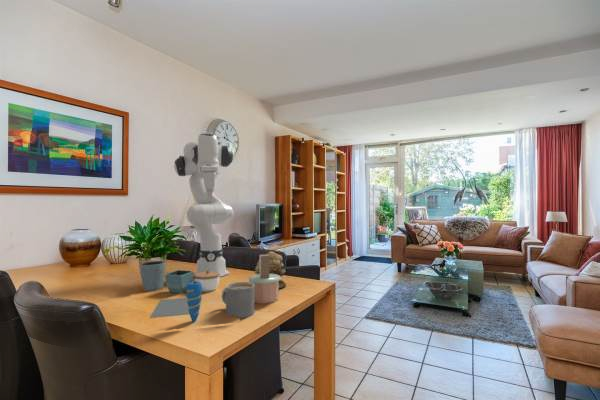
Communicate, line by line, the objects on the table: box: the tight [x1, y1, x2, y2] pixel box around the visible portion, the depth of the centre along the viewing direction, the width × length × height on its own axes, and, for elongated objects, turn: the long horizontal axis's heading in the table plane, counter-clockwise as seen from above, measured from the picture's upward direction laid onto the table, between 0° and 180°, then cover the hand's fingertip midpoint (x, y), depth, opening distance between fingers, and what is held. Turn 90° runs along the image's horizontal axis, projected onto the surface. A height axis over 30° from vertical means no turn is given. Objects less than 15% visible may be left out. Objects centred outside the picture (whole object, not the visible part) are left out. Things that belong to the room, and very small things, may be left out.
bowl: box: [253, 281, 280, 305], centre depth 124 cm, size 11×11×8 cm
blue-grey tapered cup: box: [139, 260, 165, 292], centre depth 142 cm, size 10×10×12 cm
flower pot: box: [164, 269, 195, 294], centre depth 134 cm, size 9×9×9 cm
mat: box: [149, 297, 203, 319], centre depth 115 cm, size 20×16×1 cm
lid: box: [247, 253, 281, 284], centre depth 124 cm, size 13×13×10 cm
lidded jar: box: [194, 270, 221, 293], centre depth 137 cm, size 11×11×9 cm
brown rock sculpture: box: [254, 251, 287, 291], centre depth 141 cm, size 18×12×17 cm, turn 137°
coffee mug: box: [221, 281, 255, 319], centre depth 110 cm, size 13×10×10 cm
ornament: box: [185, 278, 203, 323], centre depth 100 cm, size 5×5×15 cm
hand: (210, 201), depth 132 cm, fingers open, 8 cm apart
